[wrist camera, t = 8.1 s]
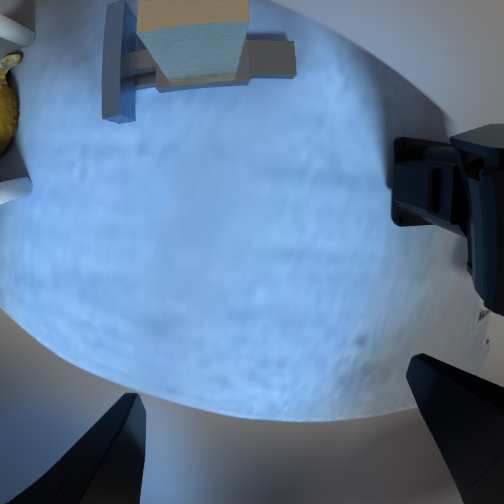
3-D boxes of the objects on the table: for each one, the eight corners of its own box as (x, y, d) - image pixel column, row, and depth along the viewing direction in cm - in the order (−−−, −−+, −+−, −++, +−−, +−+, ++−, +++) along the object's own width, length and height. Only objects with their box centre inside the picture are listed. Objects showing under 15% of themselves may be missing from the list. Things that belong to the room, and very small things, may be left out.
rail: (289, 46, 15) (293, 41, 14) (292, 78, 16) (296, 74, 15) (133, 57, 14) (129, 53, 13) (133, 90, 15) (128, 87, 14)
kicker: (243, 8, 13) (262, -73, 5) (248, 109, 15) (277, 69, 7) (122, 23, 12) (70, -42, 4) (120, 124, 14) (46, 104, 7)
